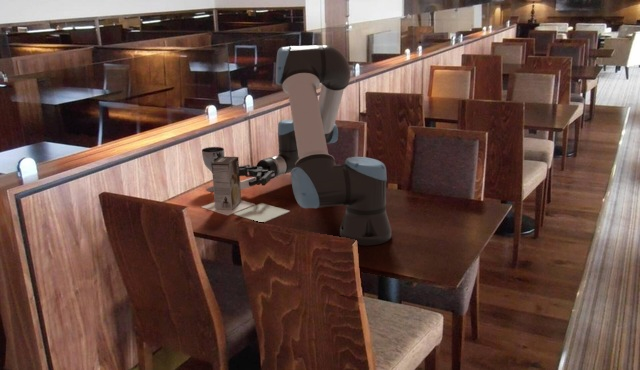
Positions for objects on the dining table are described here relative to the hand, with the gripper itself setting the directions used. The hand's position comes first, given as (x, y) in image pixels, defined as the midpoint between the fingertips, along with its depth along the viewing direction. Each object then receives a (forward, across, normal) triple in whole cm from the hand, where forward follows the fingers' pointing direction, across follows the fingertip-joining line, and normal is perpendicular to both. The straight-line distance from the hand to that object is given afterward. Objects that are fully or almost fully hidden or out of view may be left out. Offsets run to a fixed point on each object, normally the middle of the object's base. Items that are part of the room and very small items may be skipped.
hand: (226, 182), depth 200 cm
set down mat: (-2, -14, -8) cm, 17 cm away
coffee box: (0, 0, -8) cm, 8 cm away
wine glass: (-10, +18, -9) cm, 22 cm away
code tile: (0, 0, -8) cm, 8 cm away
